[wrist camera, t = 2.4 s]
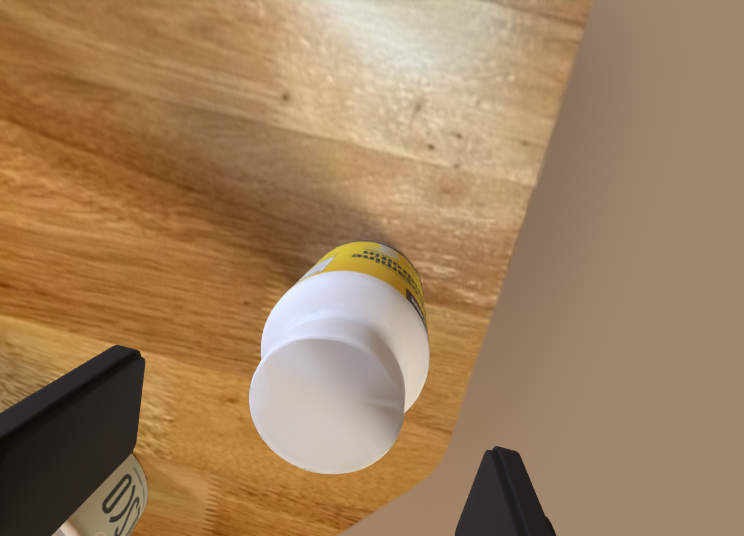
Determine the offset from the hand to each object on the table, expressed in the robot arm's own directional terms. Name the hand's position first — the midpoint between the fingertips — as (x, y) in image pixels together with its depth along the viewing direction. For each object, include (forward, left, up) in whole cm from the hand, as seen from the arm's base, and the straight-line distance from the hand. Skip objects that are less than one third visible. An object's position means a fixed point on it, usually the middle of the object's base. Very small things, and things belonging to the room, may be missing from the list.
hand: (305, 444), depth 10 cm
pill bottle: (0, 0, -13) cm, 13 cm away
